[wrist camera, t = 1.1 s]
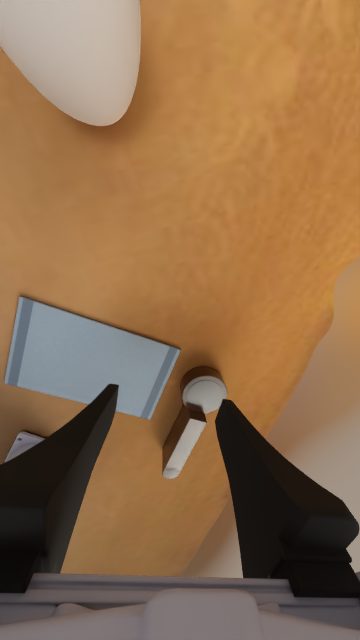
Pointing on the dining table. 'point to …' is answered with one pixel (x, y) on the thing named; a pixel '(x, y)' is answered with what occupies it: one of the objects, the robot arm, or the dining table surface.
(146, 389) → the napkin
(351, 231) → the dining table surface
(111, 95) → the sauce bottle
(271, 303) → the dining table surface
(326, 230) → the dining table surface
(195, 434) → the spoon
